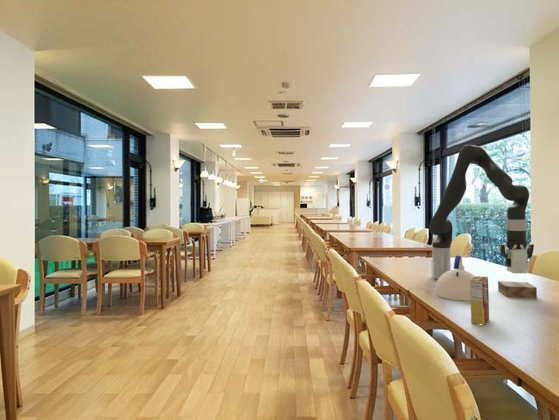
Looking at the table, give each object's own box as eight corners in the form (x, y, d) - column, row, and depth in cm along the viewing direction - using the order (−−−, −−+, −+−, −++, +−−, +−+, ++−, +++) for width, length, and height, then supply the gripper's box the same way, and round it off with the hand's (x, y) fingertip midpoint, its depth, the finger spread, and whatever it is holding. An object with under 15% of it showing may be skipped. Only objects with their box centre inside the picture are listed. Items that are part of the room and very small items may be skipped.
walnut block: (505, 297, 169) (505, 286, 169) (498, 291, 180) (498, 281, 180) (536, 299, 166) (536, 287, 165) (527, 293, 177) (527, 282, 177)
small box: (527, 273, 168) (527, 250, 168) (513, 273, 169) (513, 249, 169) (519, 270, 176) (519, 248, 176) (506, 270, 177) (506, 247, 177)
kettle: (485, 293, 177) (485, 254, 176) (482, 303, 159) (482, 260, 158) (438, 288, 187) (437, 251, 187) (431, 297, 169) (430, 257, 169)
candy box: (476, 317, 139) (476, 275, 139) (489, 319, 136) (489, 276, 136) (469, 323, 132) (469, 279, 132) (483, 325, 129) (483, 280, 129)
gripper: (529, 228, 175) (529, 265, 176) (495, 229, 177) (496, 265, 178) (537, 230, 168) (538, 268, 168) (502, 230, 170) (503, 267, 170)
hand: (516, 266), depth 173 cm, fingers closed on small box, 5 cm apart
